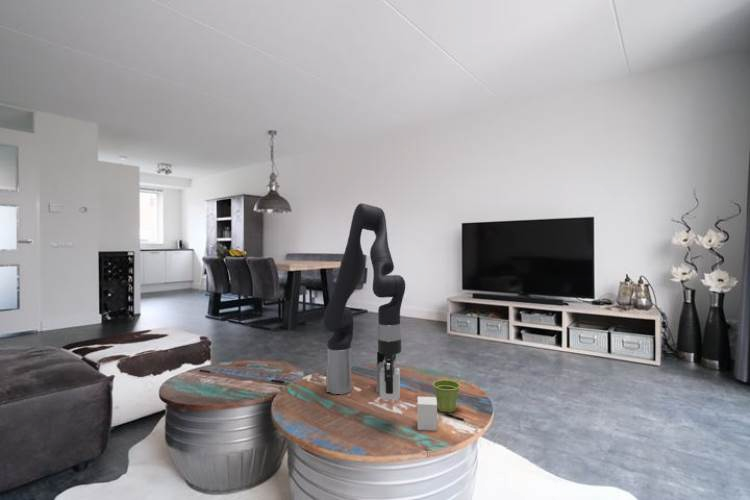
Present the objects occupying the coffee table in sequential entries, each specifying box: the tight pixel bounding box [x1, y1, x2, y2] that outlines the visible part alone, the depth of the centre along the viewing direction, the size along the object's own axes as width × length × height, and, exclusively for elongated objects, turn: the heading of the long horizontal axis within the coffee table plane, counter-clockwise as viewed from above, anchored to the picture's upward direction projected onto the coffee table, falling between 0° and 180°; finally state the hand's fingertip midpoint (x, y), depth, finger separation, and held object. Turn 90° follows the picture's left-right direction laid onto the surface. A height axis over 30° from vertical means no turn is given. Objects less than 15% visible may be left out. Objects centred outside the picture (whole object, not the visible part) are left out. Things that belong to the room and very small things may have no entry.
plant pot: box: [432, 379, 461, 413], centre depth 131 cm, size 9×9×9 cm
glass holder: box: [375, 351, 397, 394], centre depth 152 cm, size 9×14×15 cm, turn 166°
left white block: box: [379, 367, 401, 401], centre depth 121 cm, size 6×6×8 cm
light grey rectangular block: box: [417, 396, 438, 432], centre depth 119 cm, size 6×6×8 cm
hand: (390, 389), depth 121 cm, fingers closed on left white block, 6 cm apart
